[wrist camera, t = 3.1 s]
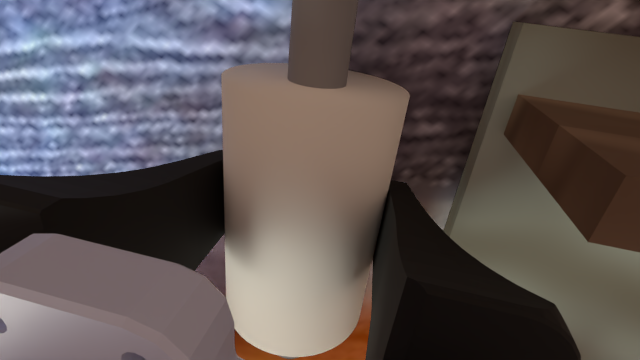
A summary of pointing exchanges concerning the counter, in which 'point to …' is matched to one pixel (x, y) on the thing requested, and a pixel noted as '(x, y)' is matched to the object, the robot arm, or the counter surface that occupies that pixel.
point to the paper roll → (305, 184)
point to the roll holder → (562, 181)
